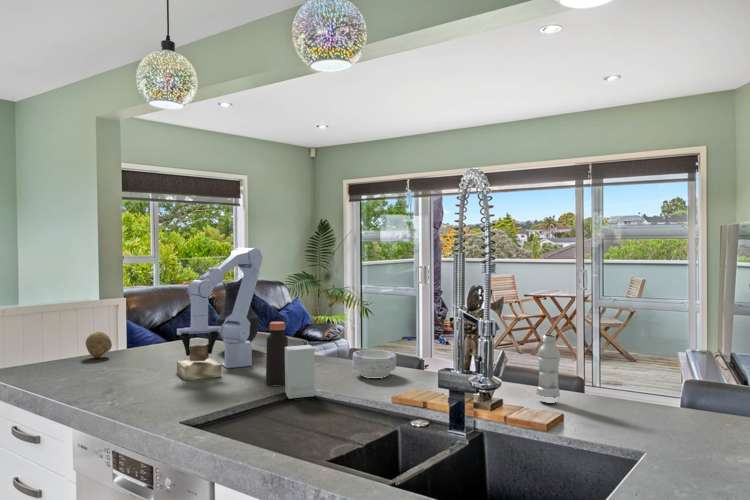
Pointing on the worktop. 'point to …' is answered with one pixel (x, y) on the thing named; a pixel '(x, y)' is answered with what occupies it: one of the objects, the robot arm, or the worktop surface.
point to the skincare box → (299, 371)
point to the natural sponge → (98, 344)
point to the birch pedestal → (198, 369)
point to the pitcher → (230, 300)
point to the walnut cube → (199, 351)
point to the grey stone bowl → (374, 362)
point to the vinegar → (276, 354)
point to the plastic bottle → (548, 367)
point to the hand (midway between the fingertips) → (198, 354)
